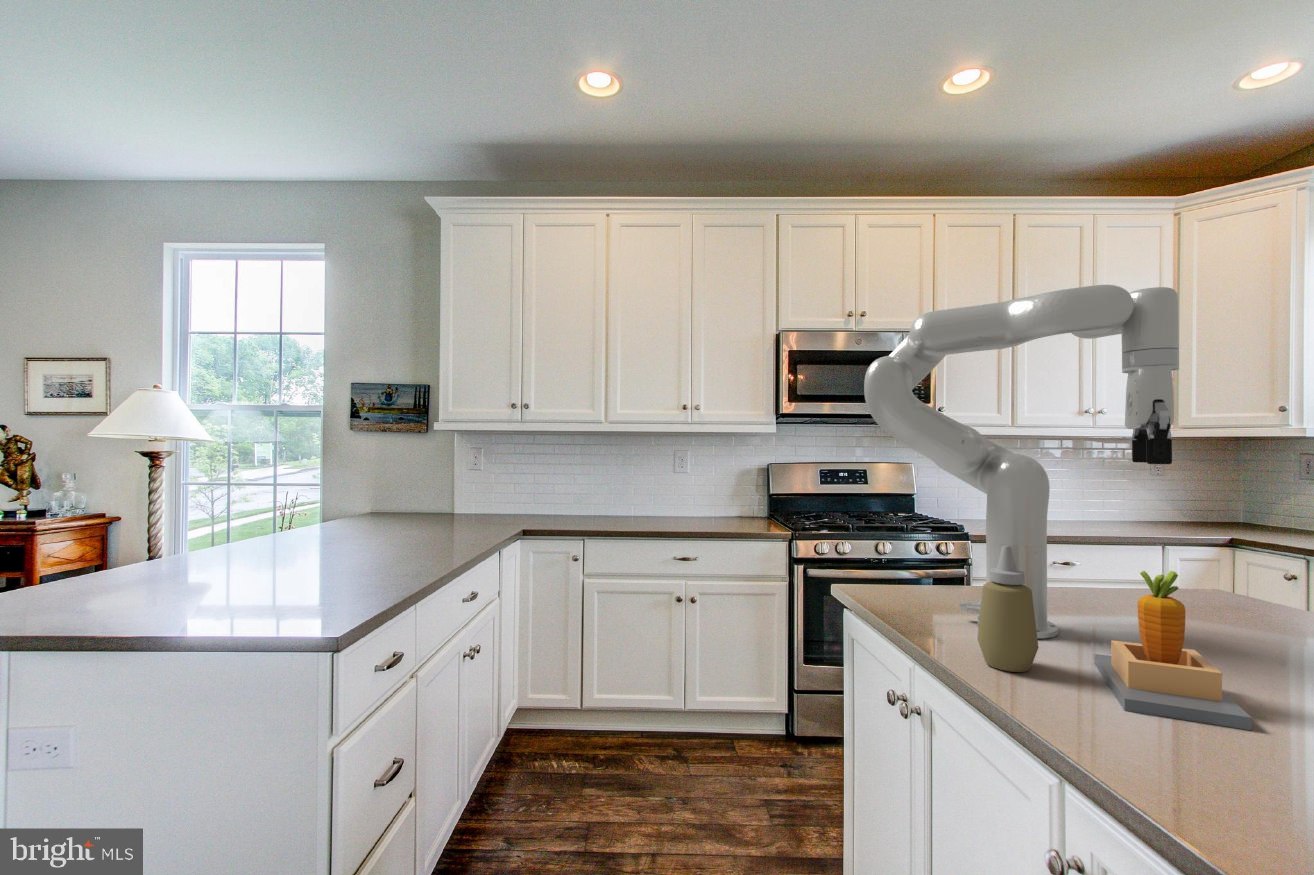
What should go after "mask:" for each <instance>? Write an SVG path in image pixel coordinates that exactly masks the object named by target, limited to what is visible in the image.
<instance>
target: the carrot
mask: <svg viewBox="0 0 1314 875" xmlns="http://www.w3.org/2000/svg"><path fill="white" fill-rule="evenodd" d="M1139 574H1140V576H1142V578H1143V579H1144V581H1145V583H1146V584H1147V587H1148V589H1150V592H1151V593H1152V594H1147V595H1143V596H1141V597H1140V598H1138V600H1137V620H1138V630H1139V636H1140V640H1141V644H1142V646H1143V649H1144V653H1145V656H1146V658H1147V660H1148V661H1151V662H1159V663H1167V664H1175V665H1177V664H1178V662H1179V659H1180V655H1181V652H1182V649H1184V648H1183V646H1184V643H1185V633H1186V632H1185V631H1186V607H1185V604H1184V603H1183V602H1182V601H1180V600H1178V599H1177V598H1174V597H1172V596H1170V595H1172V594H1173V593H1175V592H1176V591H1177V590H1179V589H1180V587H1179V586H1177V585H1173V584H1174V583H1175V582H1176V580H1177V578H1178V577H1179V574H1178V573H1177V572H1176V571H1173V570H1169V572H1168V574H1167V575H1166V576H1165V575H1164V574H1162V573H1161V574H1157V575H1156V576H1155V578H1154V579H1153V580H1152V578H1151V576H1150V574H1148V572H1146V571H1145V570H1141V571H1140V572H1139Z"/></svg>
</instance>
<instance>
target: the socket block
mask: <svg viewBox="0 0 1314 875" xmlns="http://www.w3.org/2000/svg"><path fill="white" fill-rule="evenodd" d="M1110 642H1111V644H1110V650H1111V652H1110V653H1111V654H1110V655H1108V654H1100V653H1099V654H1098V653H1094V656H1093V657H1094V658H1093V659H1094V660H1093V661H1094V663H1093V664H1094V666H1095V668H1096V669H1097V670H1098V672H1099V673H1100V674H1101V676H1102V678H1103V679H1104V680H1105V682H1106V684H1107V685H1108V687H1109V688H1110V690H1111V692H1112V694H1114V697H1115V698H1116V699H1117V701H1118V703H1119V704H1120V706H1121V707H1122V709H1123V710H1124V711H1126V712H1131V713H1132V712H1133V713H1138V714H1146V715H1151V716H1157V717H1165V718H1170V719H1171V718H1172V719H1176V720H1182V721H1189V722H1196V723H1202V724H1207V725H1208V724H1210V725H1215V726H1220V727H1227V728H1232V729H1241V730H1245V731H1252V728H1253V727H1252V726H1253V725H1252V723H1253V722H1252V721H1253V720H1252V716H1250V715H1249V713H1247V712H1246V711H1245V710H1244V709H1243V708H1241V706H1240V705H1239V704H1237V703H1236V702H1235V701H1234V700H1233V699H1232V698H1231V697H1230V696H1229V695H1227V693H1226V692H1224V691H1223V672H1221V671H1220V670H1219V669H1218V668H1216V667H1215V666H1214V665H1213V664H1212V663H1210V662H1209V661H1208V660H1207V659H1206V658H1204V657H1203V656H1202V655H1201V654H1200V653H1199V652H1198V651H1197V650H1195V649H1191V648H1190V649H1189V648H1182V652H1181V655H1180V659H1179V662H1178V664H1177V665H1175V664H1167V663H1159V662H1151V661H1148V660H1147V658H1146V656H1145V653H1144V649H1143V646H1142V643H1138V642H1129V641H1120V640H1113V639H1112V640H1111V639H1110Z"/></svg>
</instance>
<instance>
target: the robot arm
mask: <svg viewBox="0 0 1314 875" xmlns="http://www.w3.org/2000/svg"><path fill="white" fill-rule="evenodd" d="M1179 326H1180V324H1179V295H1178V292H1177V291H1176V290H1175V289H1174V288H1172V287H1168V286H1167V287H1166V286H1165V287H1164V286H1158V287H1157V286H1155V287H1148V288H1147V287H1146V288H1141V289H1137V290H1133V291H1130V292H1129V291H1128V290H1126V289H1125V288H1123V287H1121V286H1118V285H1116V284H1097V285H1095V284H1094V285H1087V286H1081V287H1080V286H1079V287H1073V288H1071V287H1070V288H1065V289H1059V290H1053V291H1048V292H1044V293H1039V294H1035V295H1034V294H1033V295H1030V296H1025V297H1019V298H1018V297H1017V298H1014V299H1010V300H1006V301H999V302H993V303H986V304H981V305H980V304H978V305H972V306H963V307H956V308H947V309H946V308H945V309H941V310H933V311H928V312H926V313H922V314H921V315H919V316H918V317H917V318H916V319H915V320H914V321H913V323H912V325H911V326H910V329H909V332H908V334H907V335H906V337H905V338H904V339H903V341H901V342H900V343H899V344H898V345H897V347H895V349H894V350H893V351H892V352H890V354H889V355H885V356H882V357H879V358H876V359H875V360H874V361H872V363H870V365H869V366H868V368H867V369H866V372H865V375H864V382H863V390H864V391H863V392H864V393H863V395H864V400H865V403H866V406H867V407H866V408H867V409H868V411H869V413H870V416H871V417H872V419H873V420H874V421H875V423H876V424H877V425H878V426H879V427H880V428H881V429H882V430H883V431H885V432H886V433H887V434H889V435H890V436H891V437H893V438H894V439H896V440H898V441H900V443H903V444H904V445H906V446H907V447H909V448H910V449H912V450H913V451H916V452H917V453H919V454H920V455H921V456H924V457H926V458H927V459H929V460H931V461H932V462H934V464H935V465H936V466H938V467H939V468H940V469H942V470H943V471H945V472H946V473H949V474H950V475H952V476H954V477H955V478H957V479H958V480H961V481H962V482H964V483H965V484H967V485H969V486H971V487H973V488H975V489H976V490H979V491H980V492H982V493H984V494H985V495H986V512H985V542H986V544H985V546H986V548H985V550H986V553H985V556H986V557H985V558H986V559H985V560H986V562H985V563H986V566H985V568H986V572H985V574H986V583H988V582H991V581H990V569H992V568H997V566H998V562H999V558H1000V554H1001V550H1002V546H1009V547H1011V549H1012V553H1013V557H1014V561H1015V565H1016V569H1017V570H1020V571H1023V572H1024V573H1025V583H1024V584H1022V585H1025V586H1027V587H1028V588H1030V589H1031V590H1032V598H1033V606H1034V614H1035V623H1036V631H1037V639H1050V638H1053V637H1056V636H1058V634H1059V627H1058V625H1057V624H1055V623H1053V622H1052V621H1049V620H1048V543H1047V542H1048V540H1047V539H1048V537H1047V535H1048V532H1047V531H1048V512H1049V511H1048V510H1049V503H1050V493H1051V492H1050V491H1051V490H1050V482H1049V481H1050V480H1049V476H1048V474H1047V472H1046V470H1045V468H1044V466H1043V465H1042V464H1041V463H1040V462H1039V461H1037V460H1036V459H1034V458H1032V457H1030V456H1028V455H1024V454H1020V453H1014V452H1012V451H1010V450H1008V449H1006V448H1004V447H1003V446H1001V445H998V443H996V442H994V441H992V440H989V439H988V438H986V437H984V436H982V434H981V433H980V432H979V431H978V430H976V429H975V428H973V427H972V426H969V425H966V424H963V423H961V422H959V421H957V420H956V419H953V418H952V417H949V416H947V415H946V414H944V413H942V412H940V411H938V410H937V409H935V408H933V407H932V406H931V405H928V404H927V403H925V402H923V401H922V400H920V399H919V398H918V397H917V396H916V395H915V394H914V392H913V390H914V389H915V388H916V387H917V386H918V385H919V384H920V383H921V382H922V381H923V380H924V379H925V378H926V377H927V376H928V375H929V374H930V373H931V372H932V371H933V370H934V369H935V368H936V367H937V366H938V364H939V363H940V362H942V360H943V359H944V358H945V357H946V356H948V355H954V354H955V355H956V354H963V353H964V354H965V353H972V352H973V353H974V352H981V351H983V352H984V351H993V350H995V351H996V350H1003V349H1009V348H1013V347H1017V346H1019V345H1022V344H1025V343H1028V342H1031V341H1034V340H1038V339H1042V338H1046V337H1052V336H1056V335H1057V336H1058V335H1064V334H1071V335H1073V336H1075V337H1077V338H1080V339H1084V340H1085V339H1086V340H1087V339H1090V340H1091V339H1098V338H1104V337H1105V338H1106V337H1110V336H1111V337H1112V336H1116V335H1117V336H1118V335H1121V373H1122V374H1127V379H1126V388H1125V390H1126V391H1125V408H1124V410H1125V412H1124V413H1125V414H1124V427H1125V428H1127V429H1128V430H1132V436H1131V437H1132V440H1131V455H1132V456H1131V460H1132V462H1133V463H1146V464H1148V465H1171V464H1172V463H1173V439H1172V431H1171V428H1172V426H1173V424H1174V420H1175V419H1174V418H1175V400H1174V398H1175V397H1174V396H1175V395H1174V380H1173V379H1174V378H1173V371H1178V370H1180V350H1179V349H1180V348H1179V347H1180V339H1179V336H1180V335H1179V333H1180V332H1179ZM986 583H985V584H986ZM981 600H982V599H979V600H977V601H971V600H965V599H959V601H958V603H959V611H966V613H967V614H978V616H977V619H976V620H977V621H976V623H977V625H979V619H980V609H981Z"/></svg>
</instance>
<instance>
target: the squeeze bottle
mask: <svg viewBox="0 0 1314 875" xmlns="http://www.w3.org/2000/svg"><path fill="white" fill-rule="evenodd" d="M990 581H991V582H988V583H984V584H983V585H982V592H981V599H980V600H981V609H980V614H979V615H980V619H979V624H978V629H977V630H978V631H977V643H978V646H979V647H980V651H981V653H982V656H983V660H984V661H985V664H987V665H988V666H989V667H992V668H994V669H998V670H1002V671H1007V672H1011V673H1012V672H1013V673H1022V672H1023V673H1025V672H1028V671H1029V670H1031V668H1032V665H1033V663H1034V661H1035V658H1036V655H1037V653H1038V650H1039V641H1038V638H1037V631H1036V623H1035V614H1034V606H1033V598H1032V590H1031V589H1030V588H1028V587H1027V586H1025V585H1022V584H1024V583H1025V573H1024V572H1023V571H1020V570H1017V569H1016V565H1015V561H1014V557H1013V553H1012V549H1011V547H1009V546H1002V550H1001V554H1000V558H999V562H998V566H997V568H992V569H990Z"/></svg>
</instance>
